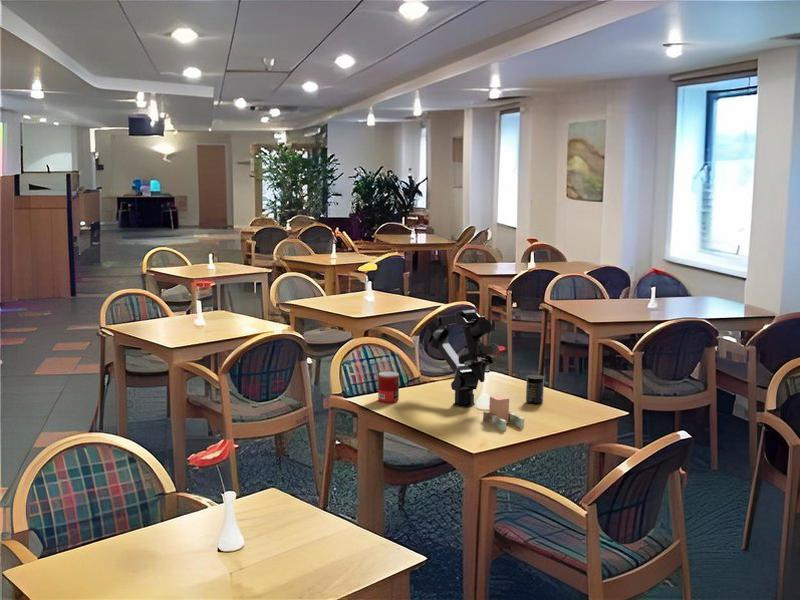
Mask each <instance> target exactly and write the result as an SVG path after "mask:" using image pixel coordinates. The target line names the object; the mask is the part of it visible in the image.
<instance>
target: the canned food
mask: <svg viewBox="0 0 800 600" xmlns="http://www.w3.org/2000/svg"><path fill="white" fill-rule="evenodd" d="M377 379H378V380H377V381H378V382H377V384H378V389H377V392H378V402H380V403H382V404H395V403H398V401H399V399H400V398H399V391H400V389H399V388H400V387H399V386H400V385H399V384H400V373H399V372H397V371H387V370H386V371H381V372H379V373H378V377H377Z"/></svg>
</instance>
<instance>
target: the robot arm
mask: <svg viewBox="0 0 800 600" xmlns="http://www.w3.org/2000/svg"><path fill="white" fill-rule="evenodd" d="M434 318H435V319H434V321H433V323H431V324H430V325H429V327H427V330H426V333H425V337H424V338H425V341H426V343H427V344H428V346H430V347H431V348H432V349H435V350H437V351H438V352H439V353H440V355H441V356H442V358H443V359H444V360H445V362H446V363H447V365H448V366H449V367H450V369H451V370H452V371H453V373H454V377H453V381H452V382H451V383H450V387H451V390H453V391H454V403H452V406H455V407H456V406H457V407H461V408H467V409H468V408H469V407H472V406H474V405H475V404H476V403H475V393H474V390H477V388H478V384H479V382H480V383H484V382H485V378H486V377H485V376H486V375H485V374H486V368H487V366H490V365H493V364H497V358H496V356H497V355H498V352H500V348H499V346H498V344H496V343H495V344H493V343H491V344H490V345H485V343H484V342H482V338H483V337H484V336H486V335H488V334H489V333H491V332H492V330H493V326H492V323H491V321H490V320H488V319H487V318H486V317H485V315H484V316H483V315H482V316H480V314H478V313H477V312H476V310H475V309H463V310H458V311H456V312H455V313H454V314H448V315H438V316H436V317H434ZM450 325H457V326H461V327H462V326H463V327H462V329H461V331H460V335H463V337H464V342H465V345H464V346H463V347H464V349H465V350H467V352H466V353H464V354H461V355H458V354H457V353H456V351H455V350H454V348H453V347H452V346H451V344H450V343H449V334H450V328H449V326H450ZM440 327H443V328H442V329H439V328H440ZM466 362H469V364H467V365H465V363H466Z"/></svg>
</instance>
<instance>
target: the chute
mask: <svg viewBox="0 0 800 600" xmlns="http://www.w3.org/2000/svg"><path fill="white" fill-rule="evenodd" d="M482 415H483V416H482V421H483V422H484V423H486V424H489V425H490V426H492V427H494V428H496V429H498V430H500V431H502V432H504V431H505V432H506V431H507V423H506V422H507V421H506V420H504V419H502V418H500V417H497V416H495V415H493V414H491V413H489V411H487V410H485V411H483V413H482ZM509 422H510V423H509ZM508 423H509V424H511V423H512V424H511V425H513V424H514V425H513V426H515V425H516V427H517V426H518V427H517V428H519V427H520V429H525V417H523V416H521V415H518V414H516V413H514V412H512V411H510V410H509V420H508Z"/></svg>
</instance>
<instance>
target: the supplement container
mask: <svg viewBox="0 0 800 600" xmlns="http://www.w3.org/2000/svg"><path fill="white" fill-rule="evenodd" d="M544 383H545V376H543V375H539V374H528V375H526V385H525V386H526V387H525V389H526V390H525V391H526V393H525V402H526V403H527V404H528V405H532V404H533V405H534V406H535V405H542V404H543V403H544V389H545V388H544V387H545V385H544Z"/></svg>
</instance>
